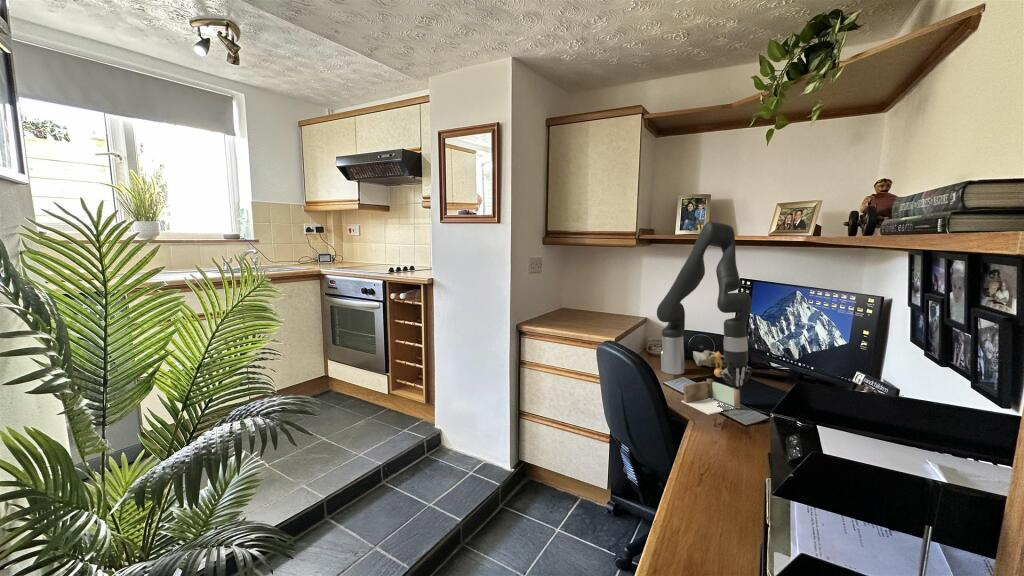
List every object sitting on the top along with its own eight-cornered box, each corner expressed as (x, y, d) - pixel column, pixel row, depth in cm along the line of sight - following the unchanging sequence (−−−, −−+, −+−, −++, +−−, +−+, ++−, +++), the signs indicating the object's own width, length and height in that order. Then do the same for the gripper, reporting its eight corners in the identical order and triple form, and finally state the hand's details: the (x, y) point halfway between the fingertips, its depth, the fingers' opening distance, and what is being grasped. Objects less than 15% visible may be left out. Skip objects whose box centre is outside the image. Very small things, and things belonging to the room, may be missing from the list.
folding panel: (712, 398, 147) (711, 382, 146) (715, 397, 147) (715, 381, 147) (737, 407, 137) (736, 391, 136) (741, 406, 137) (740, 390, 137)
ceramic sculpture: (694, 345, 195) (728, 348, 188) (693, 362, 196) (727, 366, 189) (692, 350, 186) (727, 354, 179) (691, 368, 187) (727, 372, 180)
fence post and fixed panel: (687, 404, 144) (686, 385, 144) (683, 402, 147) (682, 383, 146) (715, 398, 148) (714, 379, 147) (710, 396, 150) (710, 378, 150)
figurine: (730, 376, 171) (729, 349, 170) (729, 380, 166) (728, 353, 165) (709, 374, 176) (708, 348, 175) (707, 378, 170) (707, 351, 170)
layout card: (708, 414, 134) (708, 413, 134) (681, 401, 147) (681, 400, 147) (740, 408, 138) (739, 406, 138) (710, 395, 151) (710, 394, 151)
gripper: (728, 353, 134) (729, 401, 136) (759, 347, 137) (760, 395, 139) (712, 348, 142) (713, 394, 143) (742, 343, 145) (743, 388, 146)
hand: (737, 395), depth 141 cm, fingers closed
